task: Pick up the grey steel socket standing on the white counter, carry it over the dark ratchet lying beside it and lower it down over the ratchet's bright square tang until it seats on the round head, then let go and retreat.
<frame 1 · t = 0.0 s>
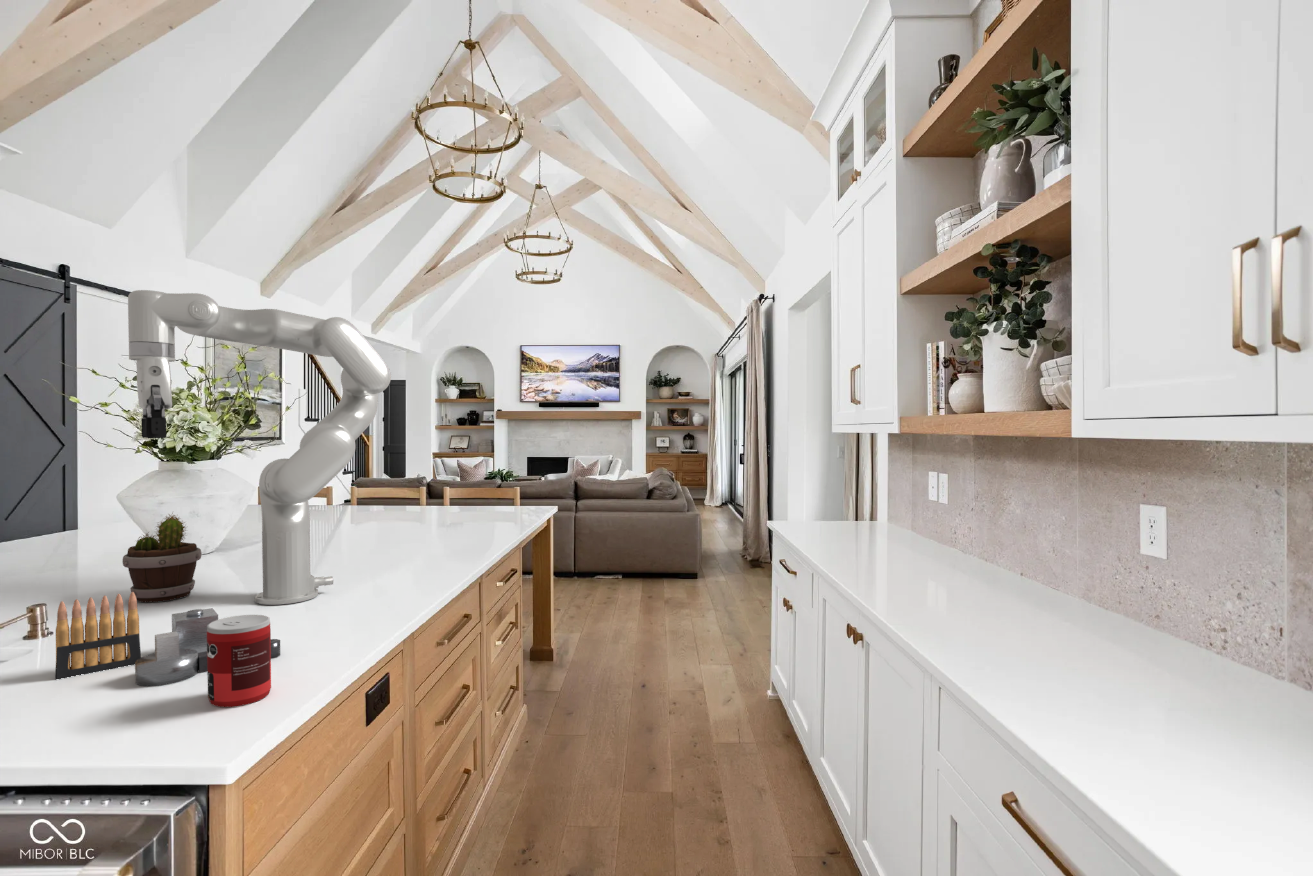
hand: (153, 437, 139), 37 cm above the table, tool pointing down, fingers open, 9 cm apart
socket: (195, 651, 119), on the table
canned food: (240, 698, 99), on the table
flowerpot: (163, 598, 157), on the table
ammunition clip: (99, 671, 110), on the table
ratchet: (167, 676, 107), on the table
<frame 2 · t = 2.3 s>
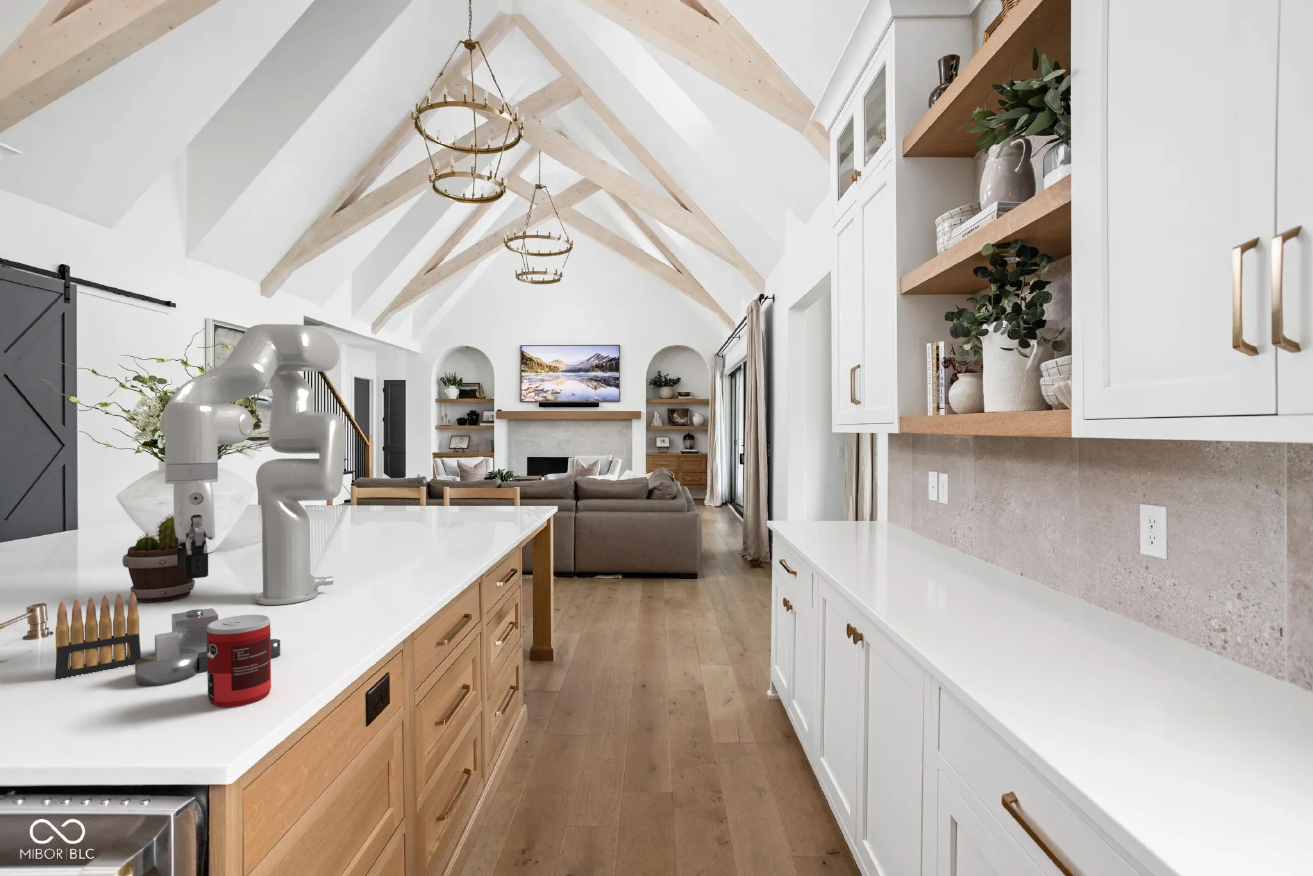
hand: (192, 573, 118), 14 cm above the table, tool pointing down, fingers open, 9 cm apart
nothing on the table moved.
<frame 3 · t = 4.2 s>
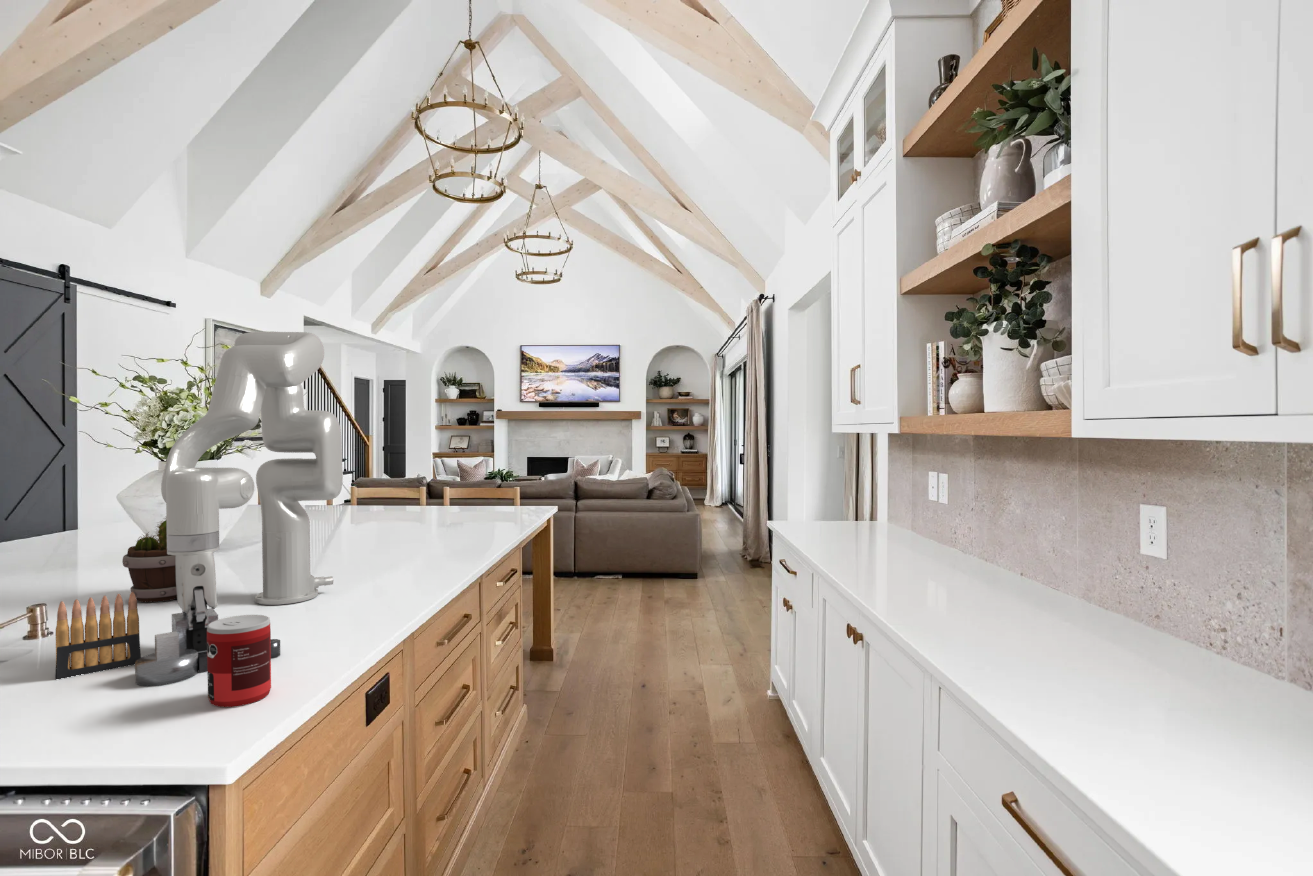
hand: (195, 645, 119), 1 cm above the table, tool pointing down, fingers closed on socket, 6 cm apart
socket: (195, 651, 119), on the table, touching gripper
everything else where it was.
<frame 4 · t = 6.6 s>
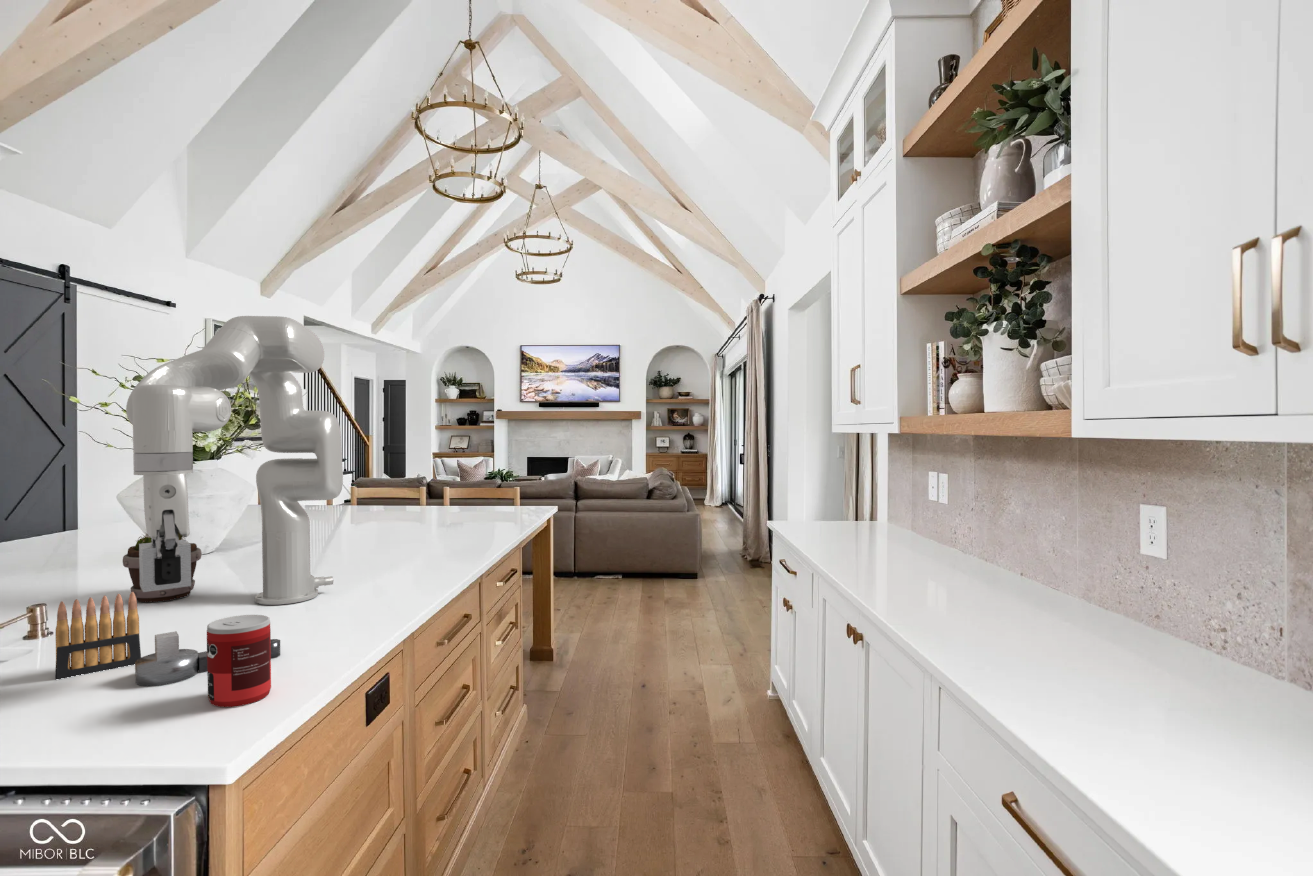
hand: (165, 578, 107), 15 cm above the table, tool pointing down, fingers closed on socket, 6 cm apart
socket: (165, 585, 107), point 14 cm above the table, touching gripper
everything else where it was.
when the fingers open (5 cm above the table, at t = 8.8 s): socket drops 1 cm, resting on ratchet.
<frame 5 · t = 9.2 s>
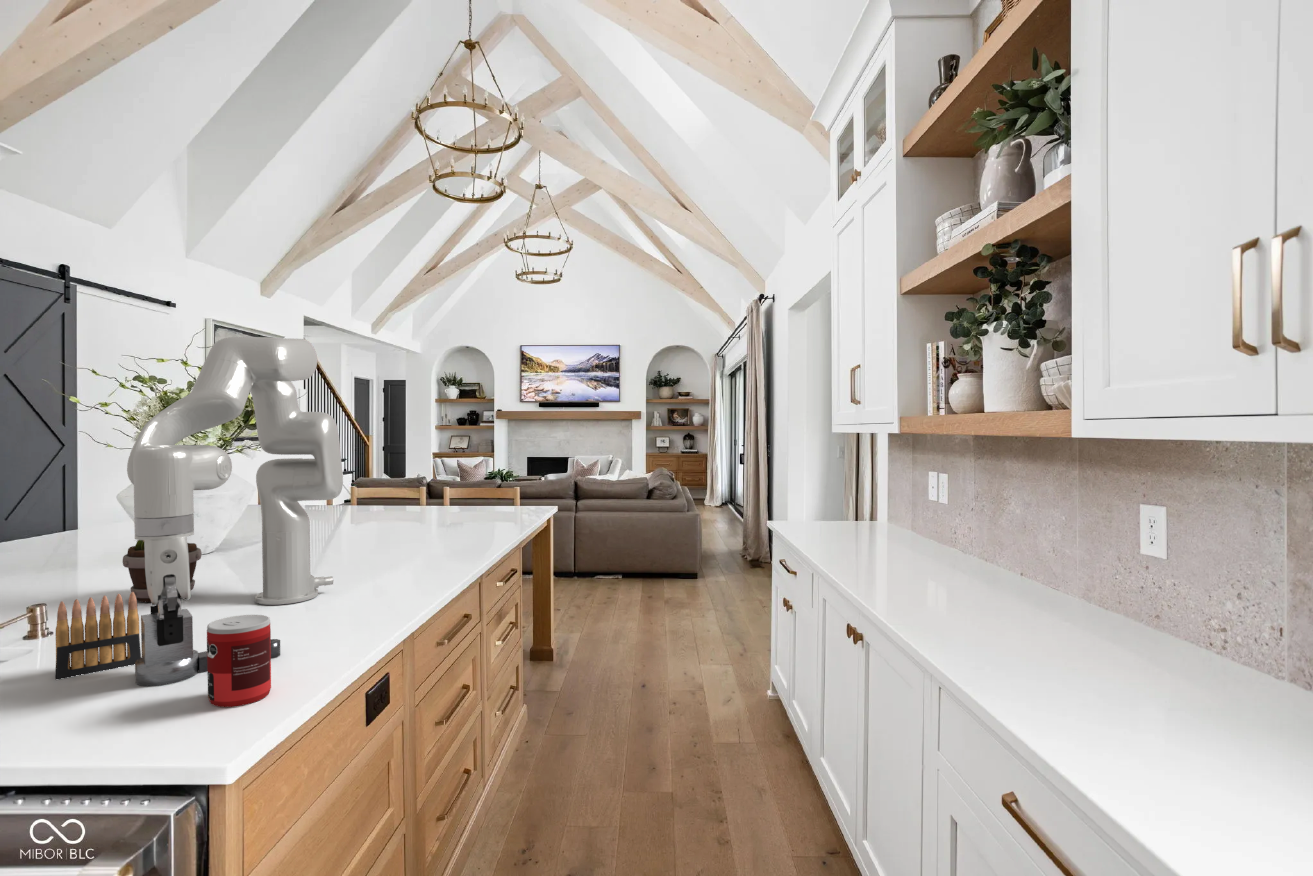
hand: (166, 636, 107), 6 cm above the table, tool pointing down, fingers open, 9 cm apart
socket: (167, 657, 107), point 3 cm above the table, touching ratchet
everything else where it was.
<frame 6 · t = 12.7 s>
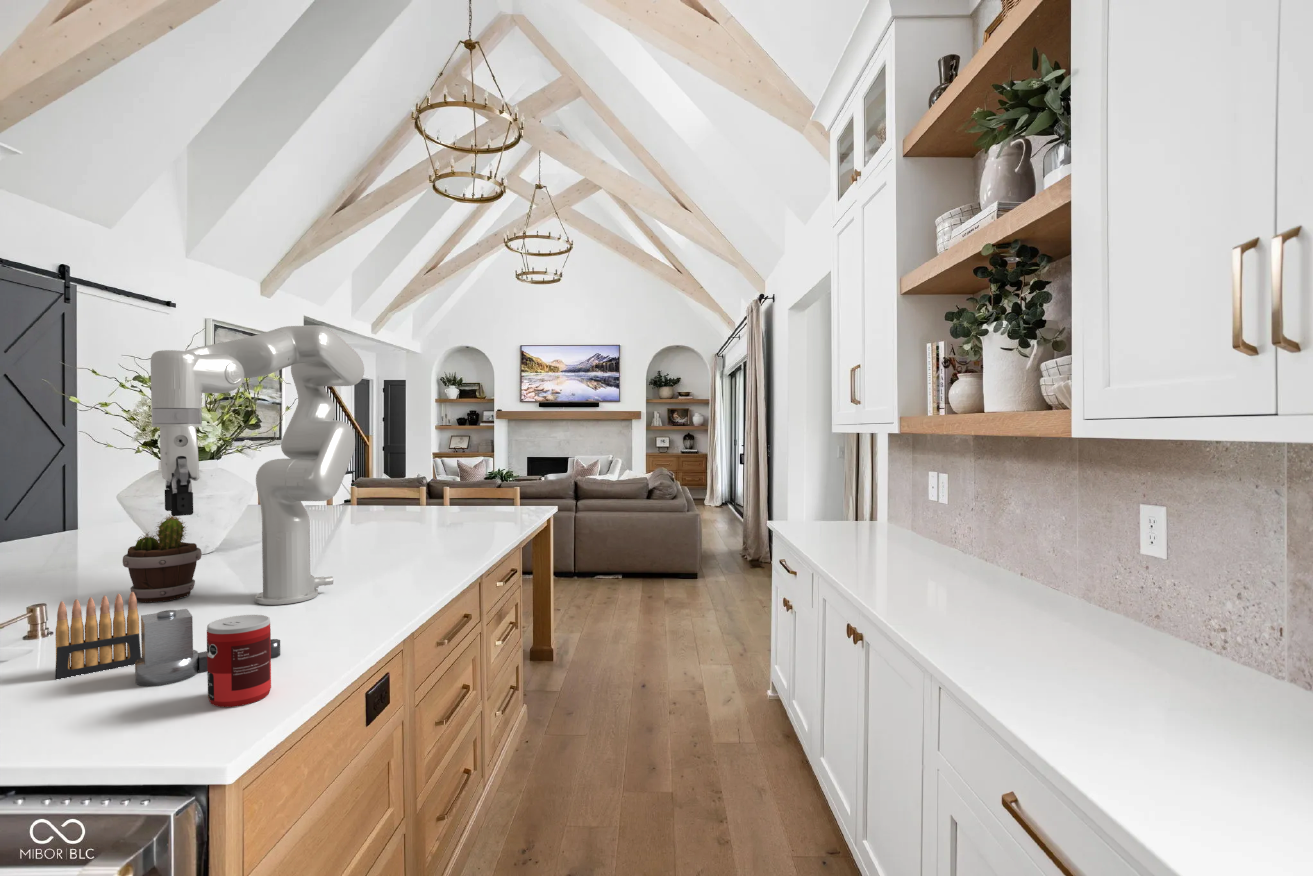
hand: (178, 512, 125), 23 cm above the table, tool pointing down, fingers open, 9 cm apart
nothing on the table moved.
at the end: socket 0.1 cm off-centre on the ratchet, point 3.0 cm above the ratchet's base; socket tilted 0°; the gripper is holding nothing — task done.
